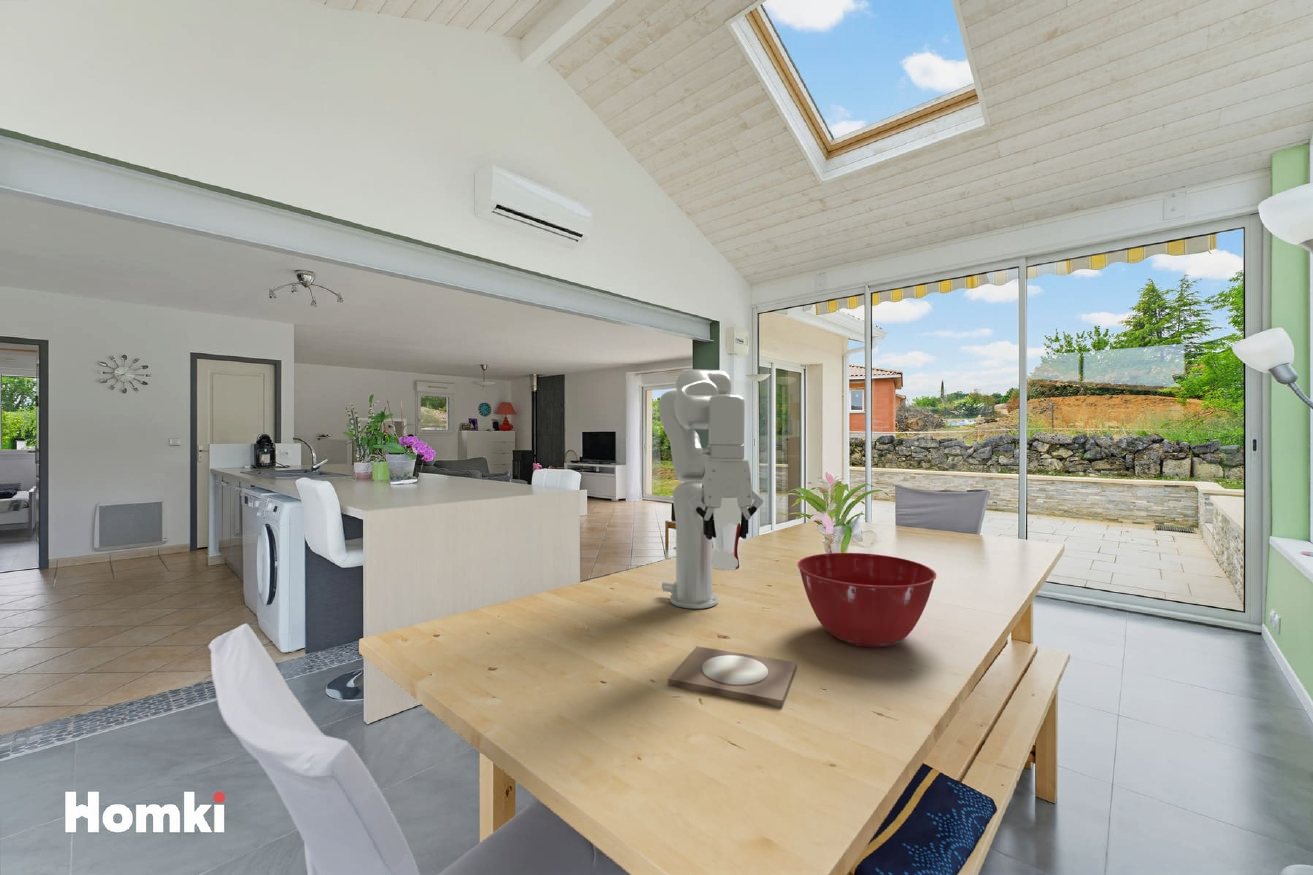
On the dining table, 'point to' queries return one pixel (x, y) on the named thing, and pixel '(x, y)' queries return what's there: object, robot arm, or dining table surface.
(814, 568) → the mixing bowl
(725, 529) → the silver metal tumbler
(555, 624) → the dining table surface
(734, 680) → the walnut board
